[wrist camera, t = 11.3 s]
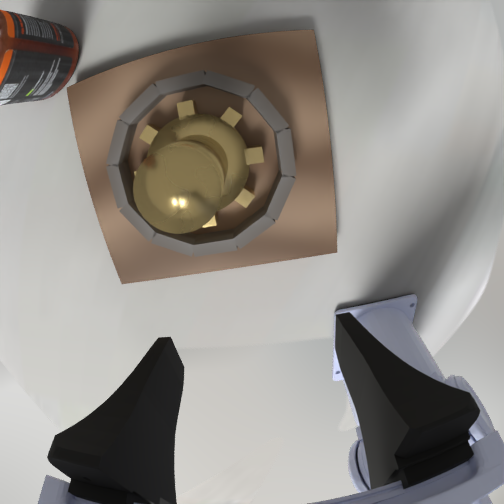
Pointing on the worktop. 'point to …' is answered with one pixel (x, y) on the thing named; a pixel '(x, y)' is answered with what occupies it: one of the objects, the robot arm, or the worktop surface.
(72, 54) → the supplement bottle
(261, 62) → the collar board
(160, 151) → the planet gear
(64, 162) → the worktop surface
